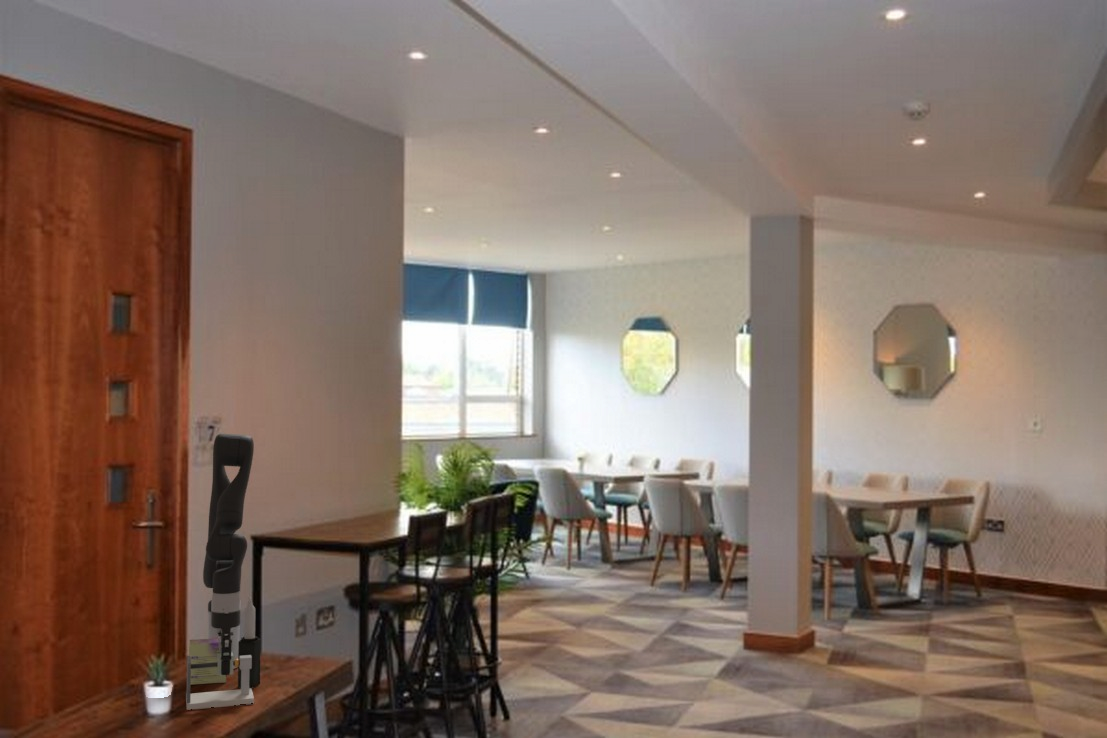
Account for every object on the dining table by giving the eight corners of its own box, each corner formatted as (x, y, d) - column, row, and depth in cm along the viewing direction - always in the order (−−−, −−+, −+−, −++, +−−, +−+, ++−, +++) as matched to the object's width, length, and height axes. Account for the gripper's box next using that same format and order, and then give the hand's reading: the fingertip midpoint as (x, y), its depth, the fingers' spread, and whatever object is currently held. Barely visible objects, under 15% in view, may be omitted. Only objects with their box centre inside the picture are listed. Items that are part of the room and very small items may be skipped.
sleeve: (216, 671, 284) (217, 653, 284) (232, 670, 285) (232, 652, 285) (217, 675, 280) (217, 656, 280) (233, 674, 281) (233, 655, 281)
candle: (252, 688, 295) (254, 598, 295) (236, 687, 296) (237, 598, 296) (261, 683, 300) (262, 595, 300) (245, 682, 301) (246, 594, 301)
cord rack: (186, 699, 284) (186, 654, 284) (251, 693, 289) (251, 650, 290) (186, 709, 274) (187, 663, 274) (254, 703, 280) (254, 658, 280)
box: (226, 677, 306) (226, 636, 306) (226, 682, 300) (227, 641, 301) (188, 680, 303) (189, 639, 303) (188, 685, 297) (188, 643, 298)
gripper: (210, 604, 288) (209, 667, 288) (212, 614, 275) (211, 680, 274) (238, 602, 291) (238, 665, 290) (242, 612, 277) (241, 678, 277)
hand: (225, 672), depth 282 cm, fingers closed on sleeve, 4 cm apart
